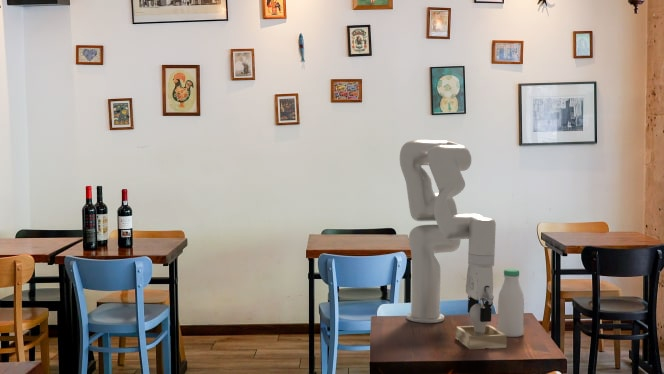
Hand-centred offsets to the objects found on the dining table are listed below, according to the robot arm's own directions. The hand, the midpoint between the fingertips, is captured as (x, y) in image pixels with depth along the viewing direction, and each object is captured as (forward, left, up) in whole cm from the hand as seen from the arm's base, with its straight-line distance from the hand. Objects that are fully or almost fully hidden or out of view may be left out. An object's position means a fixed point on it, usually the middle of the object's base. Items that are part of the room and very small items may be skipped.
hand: (479, 316), depth 212 cm
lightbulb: (0, 0, -7) cm, 7 cm away
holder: (+1, 0, -8) cm, 8 cm away
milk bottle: (-7, +13, -8) cm, 17 cm away
